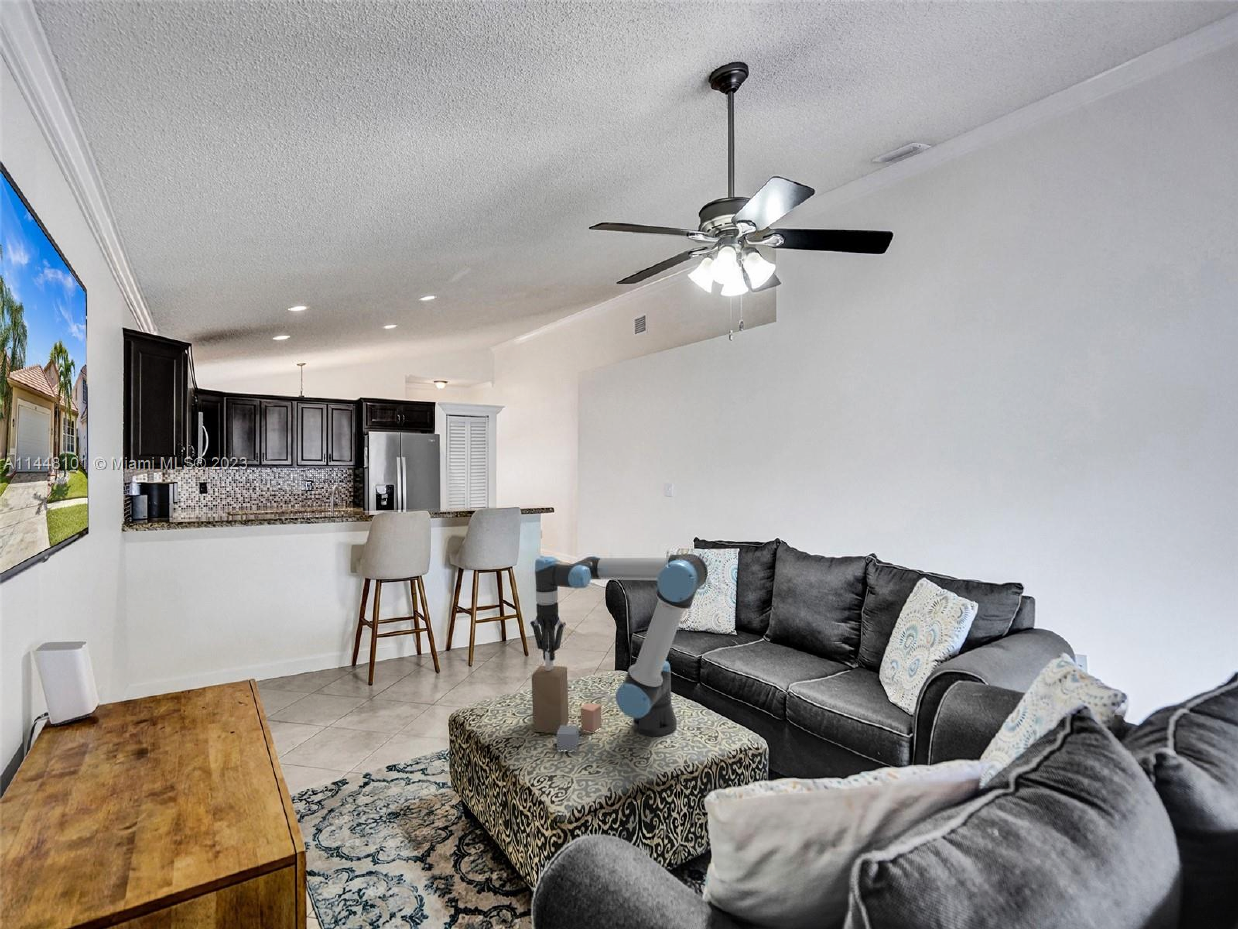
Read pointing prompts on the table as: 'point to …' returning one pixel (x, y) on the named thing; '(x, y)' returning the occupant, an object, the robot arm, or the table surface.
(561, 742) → the slate cube
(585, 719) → the terracotta block
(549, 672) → the wooden block
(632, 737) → the table surface
